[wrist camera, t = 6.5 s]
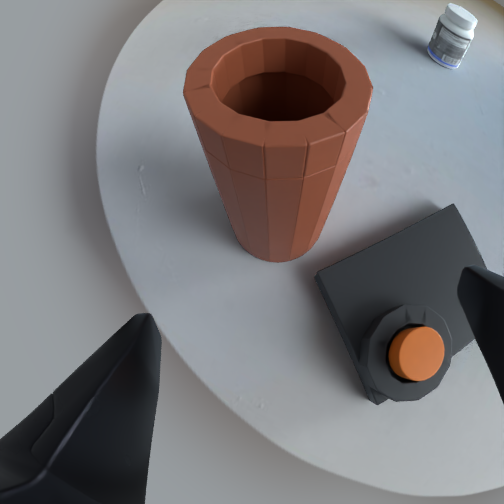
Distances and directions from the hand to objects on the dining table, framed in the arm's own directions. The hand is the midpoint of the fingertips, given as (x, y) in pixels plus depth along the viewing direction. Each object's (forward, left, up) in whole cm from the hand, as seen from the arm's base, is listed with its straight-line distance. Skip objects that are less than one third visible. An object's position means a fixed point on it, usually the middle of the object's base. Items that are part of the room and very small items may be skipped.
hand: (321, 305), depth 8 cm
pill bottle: (+32, +19, -14) cm, 40 cm away
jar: (+2, +7, -13) cm, 15 cm away
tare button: (+6, -5, -10) cm, 13 cm away
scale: (+9, -3, -13) cm, 16 cm away
